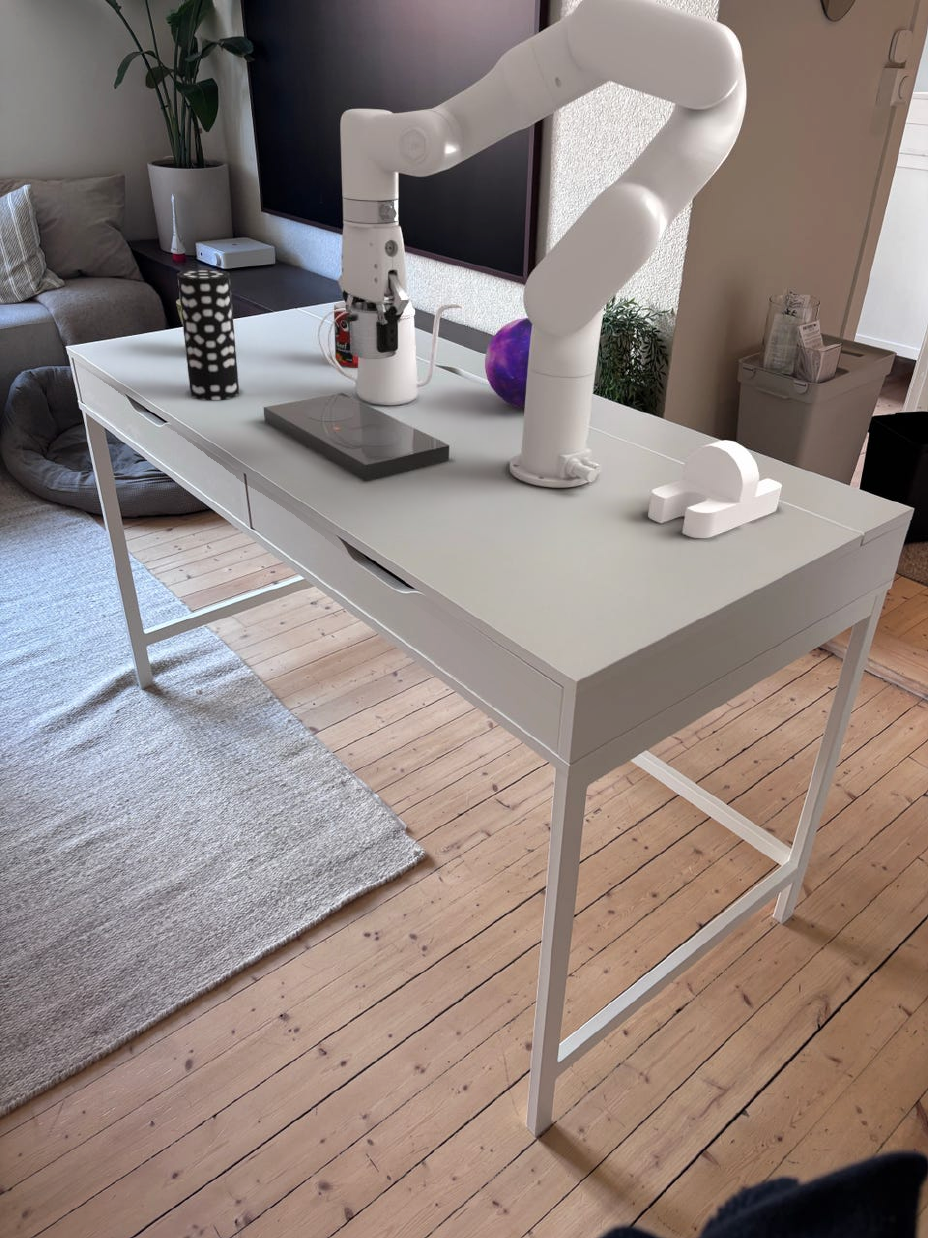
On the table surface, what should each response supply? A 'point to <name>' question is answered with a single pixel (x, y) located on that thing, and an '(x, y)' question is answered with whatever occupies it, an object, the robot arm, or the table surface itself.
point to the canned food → (343, 339)
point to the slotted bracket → (716, 492)
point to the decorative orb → (509, 361)
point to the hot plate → (356, 436)
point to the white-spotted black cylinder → (209, 333)
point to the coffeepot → (391, 363)
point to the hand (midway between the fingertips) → (373, 344)
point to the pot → (365, 330)
